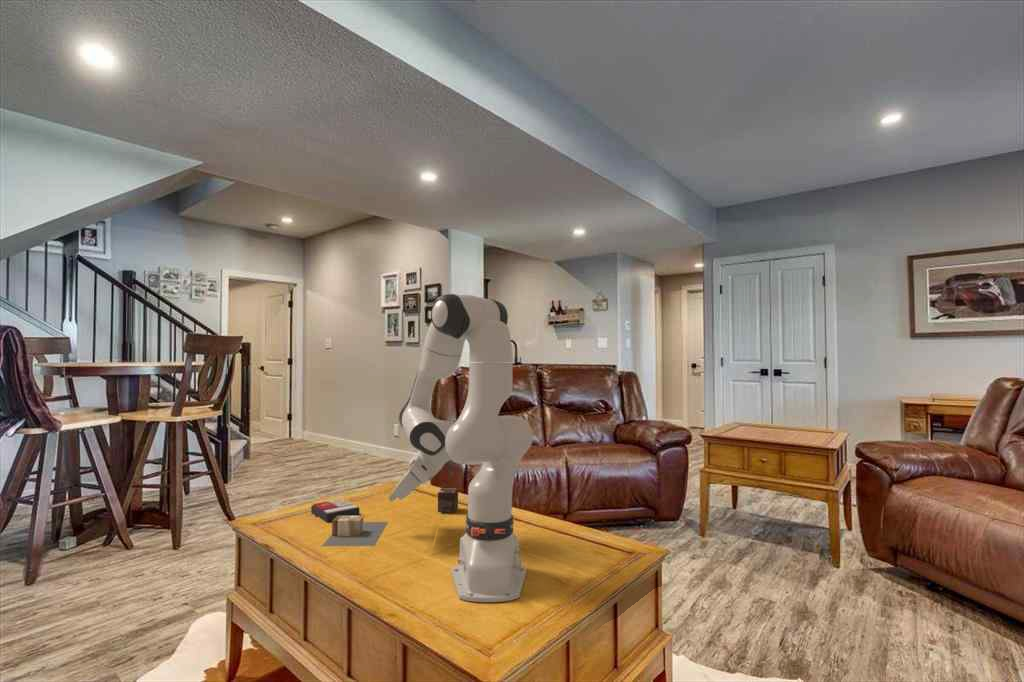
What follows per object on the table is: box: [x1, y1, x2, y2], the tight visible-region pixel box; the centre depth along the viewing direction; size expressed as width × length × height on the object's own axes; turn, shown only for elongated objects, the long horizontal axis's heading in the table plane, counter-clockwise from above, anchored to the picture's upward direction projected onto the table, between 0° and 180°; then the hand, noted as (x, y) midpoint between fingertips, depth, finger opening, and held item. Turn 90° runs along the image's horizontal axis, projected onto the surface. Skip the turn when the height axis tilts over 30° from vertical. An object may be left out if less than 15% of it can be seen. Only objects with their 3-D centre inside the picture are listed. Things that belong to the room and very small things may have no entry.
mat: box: [321, 521, 389, 547], centre depth 153 cm, size 20×15×1 cm
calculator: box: [310, 498, 360, 523], centre depth 171 cm, size 11×4×15 cm
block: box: [331, 515, 364, 536], centre depth 152 cm, size 4×4×8 cm
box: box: [437, 487, 459, 514], centre depth 177 cm, size 6×6×7 cm
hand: (390, 498), depth 153 cm, fingers closed
